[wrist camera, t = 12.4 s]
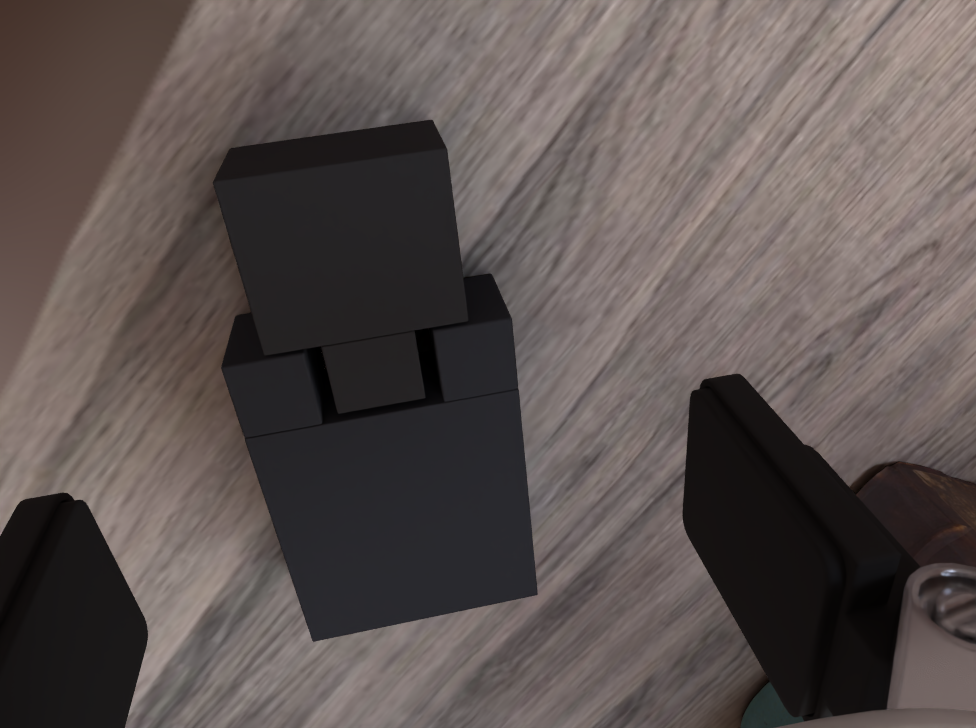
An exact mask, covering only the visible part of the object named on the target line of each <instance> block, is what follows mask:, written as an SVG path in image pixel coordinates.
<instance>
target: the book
mask: <svg viewBox="0 0 976 728" xmlns="http://www.w3.org/2000/svg"><path fill="white" fill-rule="evenodd" d="M856 495H857V497H858V498H859V499H860V500H861V501H862V502H863V503H864V504H865V505H866V507H867V508H868V509H869V510H870V511H871V512H872V513H873V514H874V515H875V517H876V518H877V519H878V520H879V521H880V522H881V523H882V524H883V525H884V527H885V528H886V529H887V530H888V531H889V532H890V533H891V534H892V535H893V537H894V538H895V539H896V540H897V541H898V542H899V543H900V544H901V545H902V547H903V548H904V549H905V550H906V551H907V552H908V553H909V554H910V555H911V557H912V558H913V559H914V560H915V561H916V562H917V563H918V564H919V565H920V567H924V566H927V565H930V564H934V563H956V564H961V565H967V566H972V567H975V568H976V484H974V483H970V482H967V481H963V480H960V479H956V478H952V477H948V476H947V475H945V474H944V473H942V472H941V471H937V470H934V469H930V468H927V467H924V466H919V465H914V464H908V463H902V462H897V463H896V464H894V465H892V466H886V467H885V468H884V469H883V470H882V471H880V472H879V473H878V474H876V475H875V476H874V477H873V478H872V479H871V480H870V481H869V482H868V483H867V484H866V485H865V486H864V487H863V488H862V489H861V490H860V491H859V492H858V493H857V494H856Z"/></svg>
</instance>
